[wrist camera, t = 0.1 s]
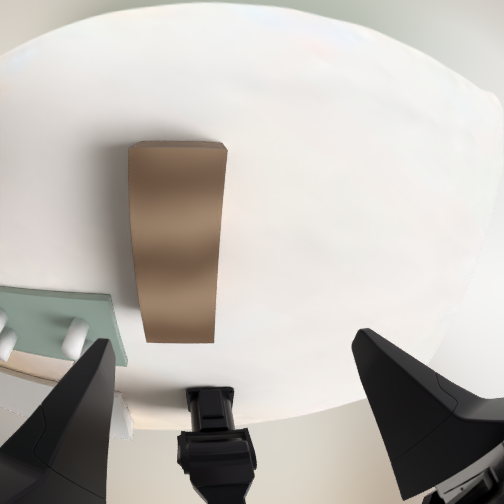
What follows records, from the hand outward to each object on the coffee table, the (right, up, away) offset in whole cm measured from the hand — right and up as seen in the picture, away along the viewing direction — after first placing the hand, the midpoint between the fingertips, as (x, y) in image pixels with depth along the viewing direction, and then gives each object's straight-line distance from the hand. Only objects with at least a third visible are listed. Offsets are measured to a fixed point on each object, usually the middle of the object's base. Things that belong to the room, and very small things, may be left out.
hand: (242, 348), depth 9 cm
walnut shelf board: (-6, +4, +14) cm, 15 cm away
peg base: (-24, -5, +15) cm, 28 cm away
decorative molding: (-35, -19, +21) cm, 46 cm away
